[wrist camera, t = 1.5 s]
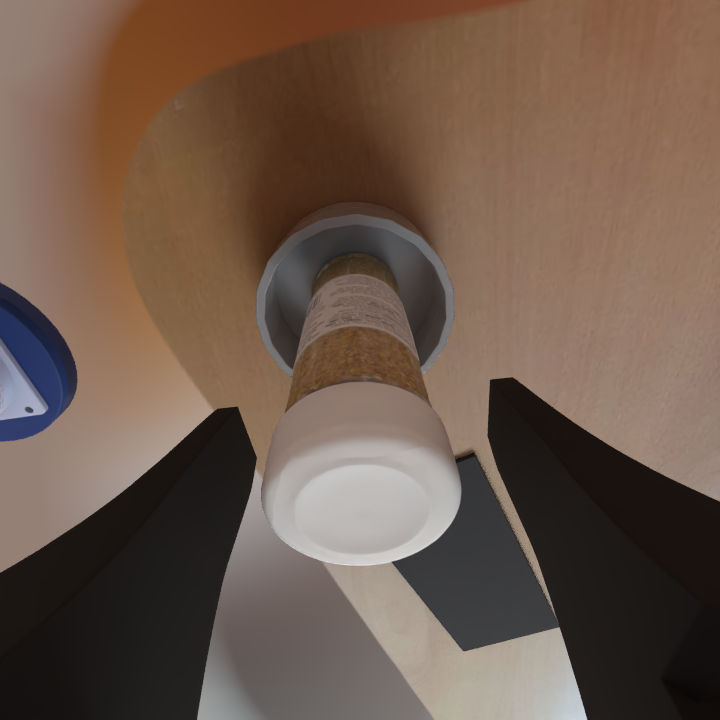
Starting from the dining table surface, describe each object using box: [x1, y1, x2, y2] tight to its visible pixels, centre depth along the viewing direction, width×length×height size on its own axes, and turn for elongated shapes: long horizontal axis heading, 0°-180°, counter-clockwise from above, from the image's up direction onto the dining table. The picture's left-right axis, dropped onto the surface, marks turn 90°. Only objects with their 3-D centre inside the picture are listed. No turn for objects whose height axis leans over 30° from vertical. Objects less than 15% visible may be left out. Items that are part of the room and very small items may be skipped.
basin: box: [256, 202, 455, 377], centre depth 19 cm, size 9×9×4 cm
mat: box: [392, 453, 560, 651], centre depth 33 cm, size 26×10×1 cm, turn 27°
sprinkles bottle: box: [261, 252, 461, 566], centre depth 14 cm, size 5×5×14 cm
